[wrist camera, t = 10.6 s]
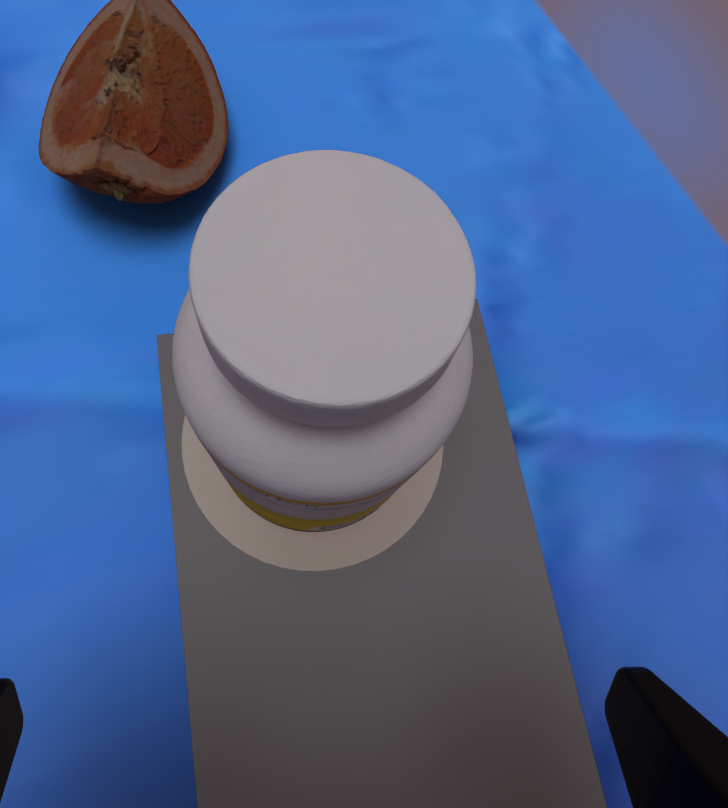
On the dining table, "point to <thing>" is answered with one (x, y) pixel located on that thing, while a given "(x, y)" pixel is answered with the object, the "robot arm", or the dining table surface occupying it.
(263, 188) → the pill bottle
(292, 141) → the dining table surface
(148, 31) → the fruit slice
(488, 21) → the dining table surface
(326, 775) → the panel board
